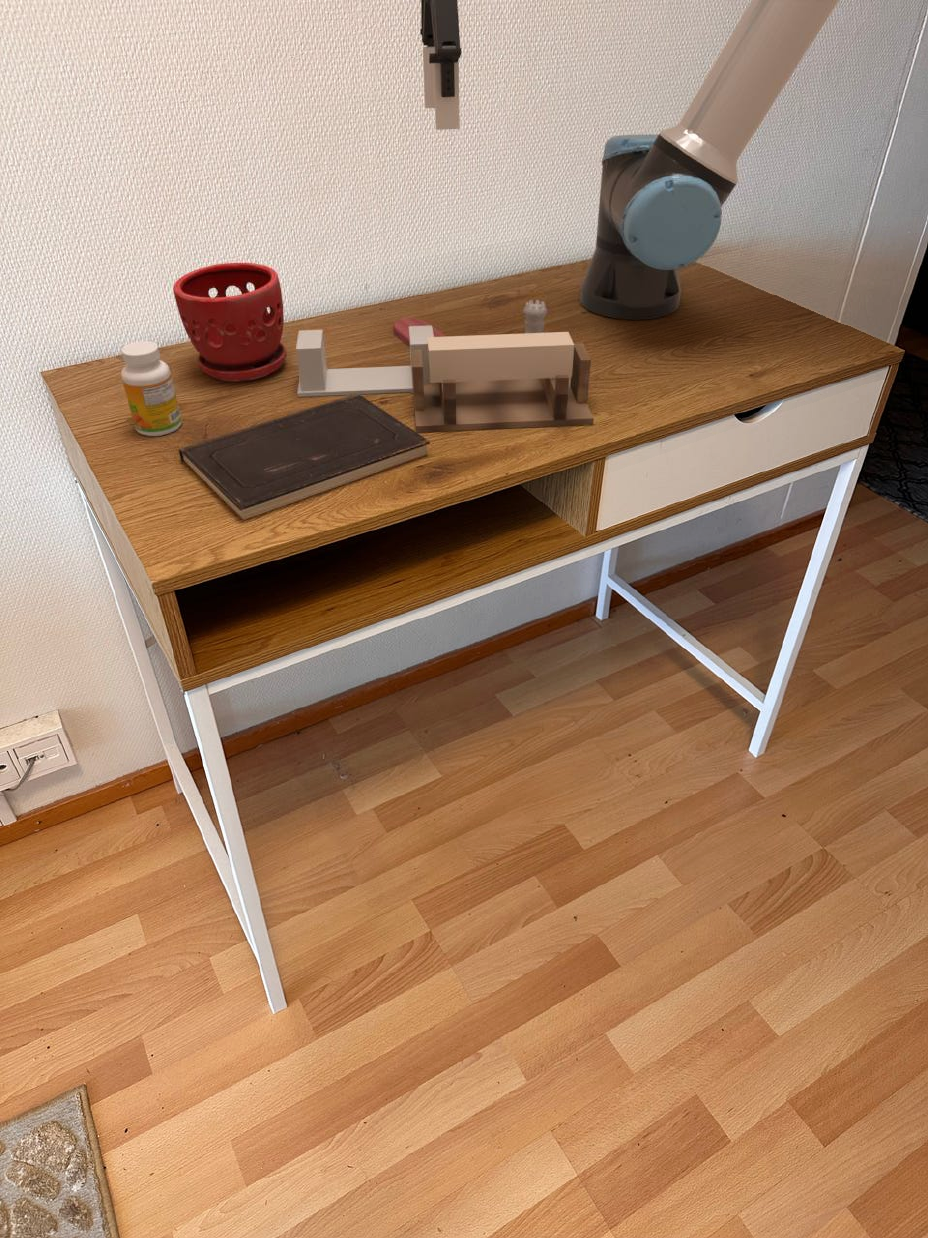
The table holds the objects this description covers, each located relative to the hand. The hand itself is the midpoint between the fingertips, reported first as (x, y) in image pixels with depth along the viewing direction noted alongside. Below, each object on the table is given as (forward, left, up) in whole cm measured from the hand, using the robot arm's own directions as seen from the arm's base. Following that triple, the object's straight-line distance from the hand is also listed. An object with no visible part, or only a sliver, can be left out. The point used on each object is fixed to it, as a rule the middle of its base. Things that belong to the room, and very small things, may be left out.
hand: (441, 117), depth 106 cm
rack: (-5, +20, -28) cm, 35 cm away
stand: (+11, +12, -28) cm, 32 cm away
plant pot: (+28, +6, -28) cm, 40 cm away
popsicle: (+3, 0, -29) cm, 29 cm away
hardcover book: (+18, +32, -29) cm, 46 cm away
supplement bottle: (+36, +22, -28) cm, 51 cm away
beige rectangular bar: (-5, +20, -24) cm, 32 cm away
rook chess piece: (-11, +8, -28) cm, 31 cm away
